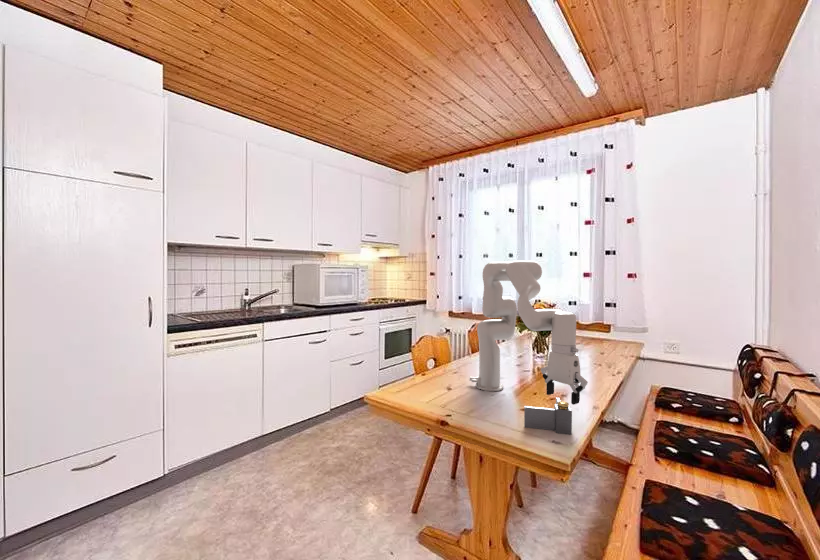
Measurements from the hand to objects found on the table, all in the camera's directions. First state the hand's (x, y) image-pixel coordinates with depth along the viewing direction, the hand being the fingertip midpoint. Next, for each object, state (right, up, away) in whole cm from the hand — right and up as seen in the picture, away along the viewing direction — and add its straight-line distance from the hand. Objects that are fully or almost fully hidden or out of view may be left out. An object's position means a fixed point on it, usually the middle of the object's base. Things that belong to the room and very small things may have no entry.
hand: (562, 398), depth 120 cm
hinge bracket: (-3, -11, +6) cm, 13 cm away
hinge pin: (0, -11, 0) cm, 11 cm away
